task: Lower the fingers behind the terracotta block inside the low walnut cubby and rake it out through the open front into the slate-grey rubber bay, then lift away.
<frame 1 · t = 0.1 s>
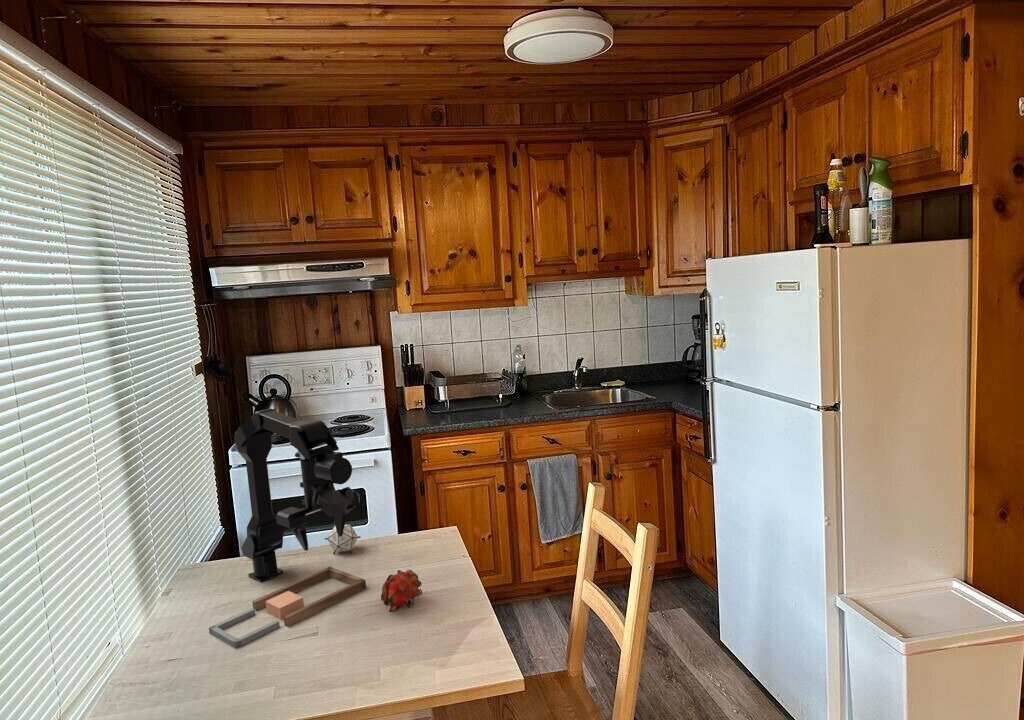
hand: (323, 543, 163), 14 cm above the table, fingers open, 9 cm apart
walnut cubby: (308, 599, 167), on the table
grey bay: (247, 628, 156), on the table
game die: (344, 552, 194), on the table
terracotta block: (285, 611, 163), on the table
dragon fruit: (402, 607, 160), on the table
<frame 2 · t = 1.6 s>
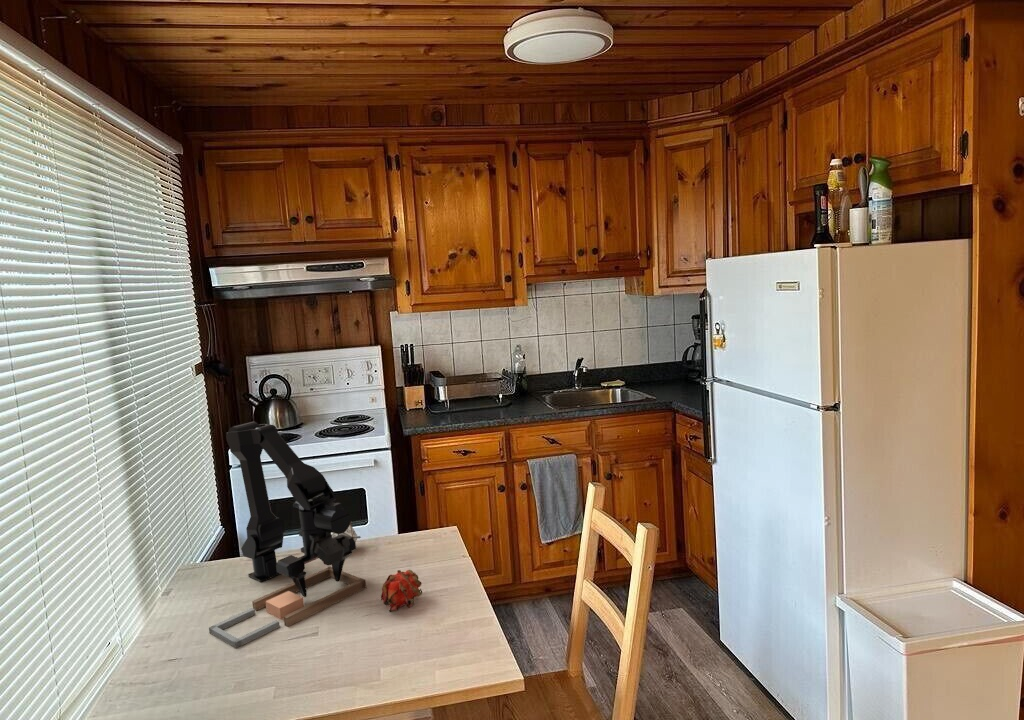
hand: (321, 588, 170), 1 cm above the table, fingers open, 9 cm apart
nothing on the table moved.
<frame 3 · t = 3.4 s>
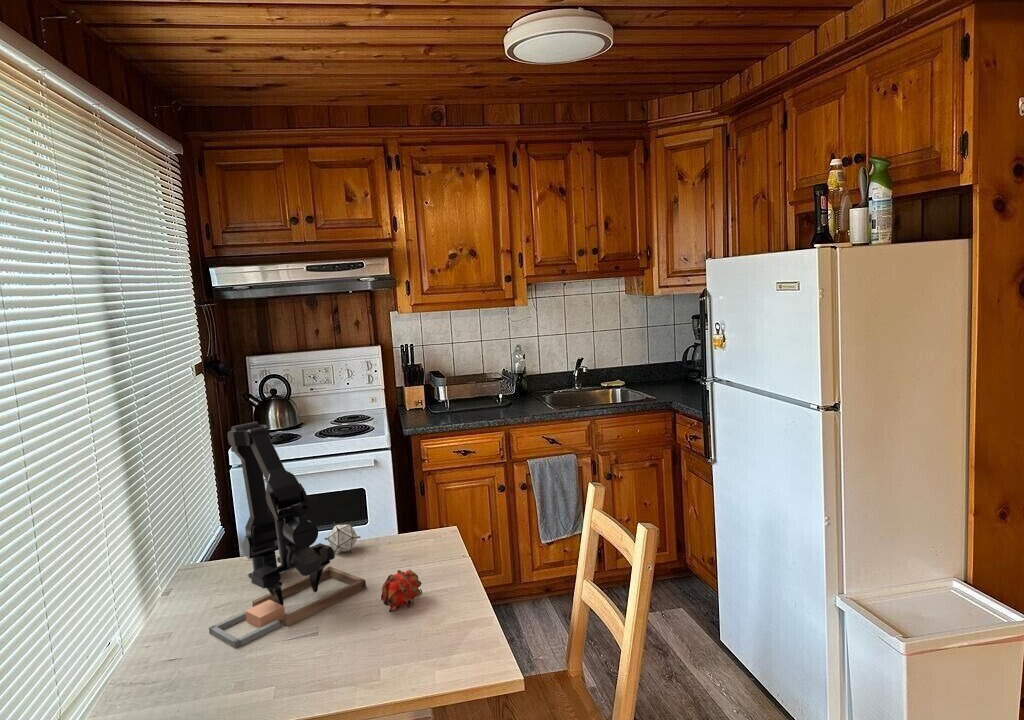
hand: (298, 599, 165), 1 cm above the table, fingers open, 9 cm apart
terracotta block: (266, 621, 159), on the table
everything else where it was.
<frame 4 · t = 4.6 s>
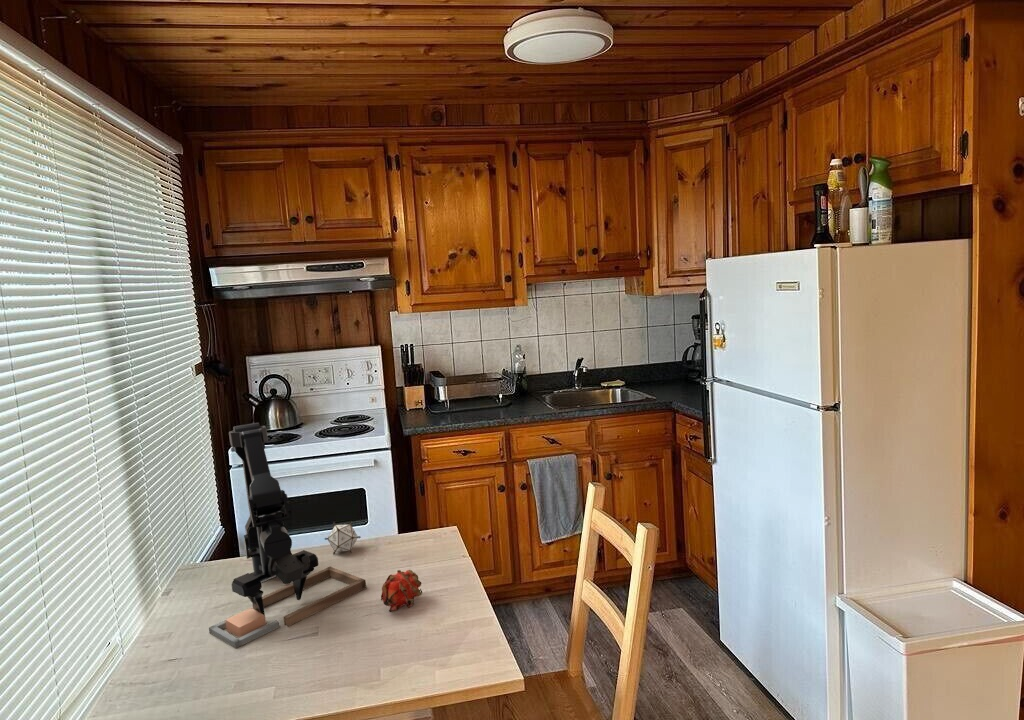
hand: (281, 607, 162), 1 cm above the table, fingers open, 9 cm apart
terracotta block: (246, 630, 156), on the table
everything else where it was.
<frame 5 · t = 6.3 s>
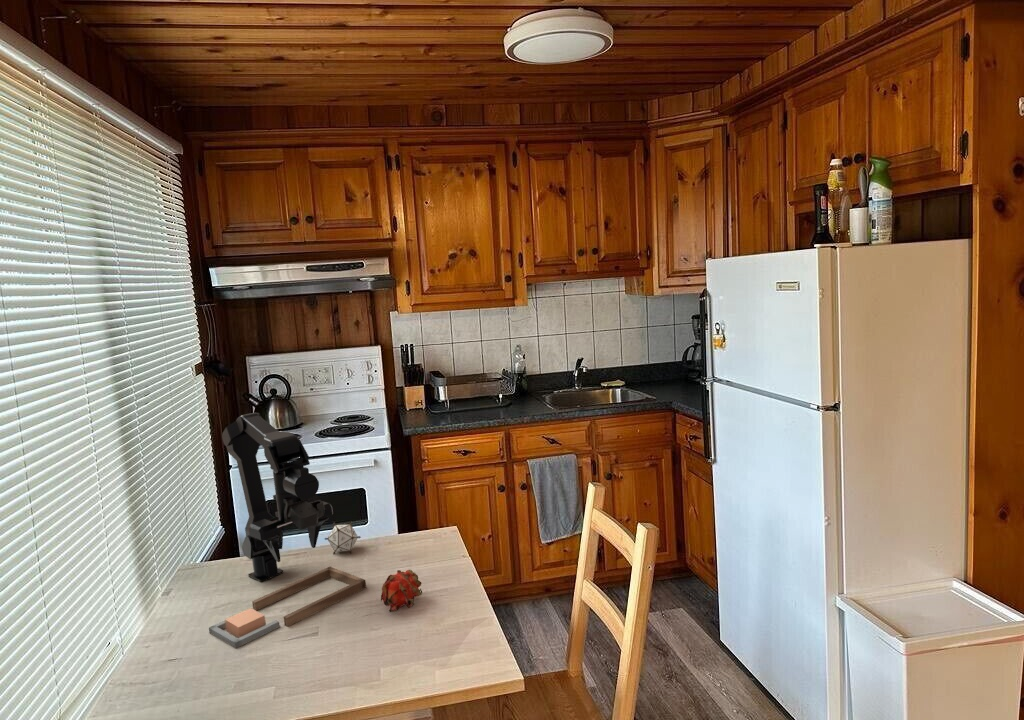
hand: (296, 554, 166), 11 cm above the table, fingers open, 9 cm apart
nothing on the table moved.
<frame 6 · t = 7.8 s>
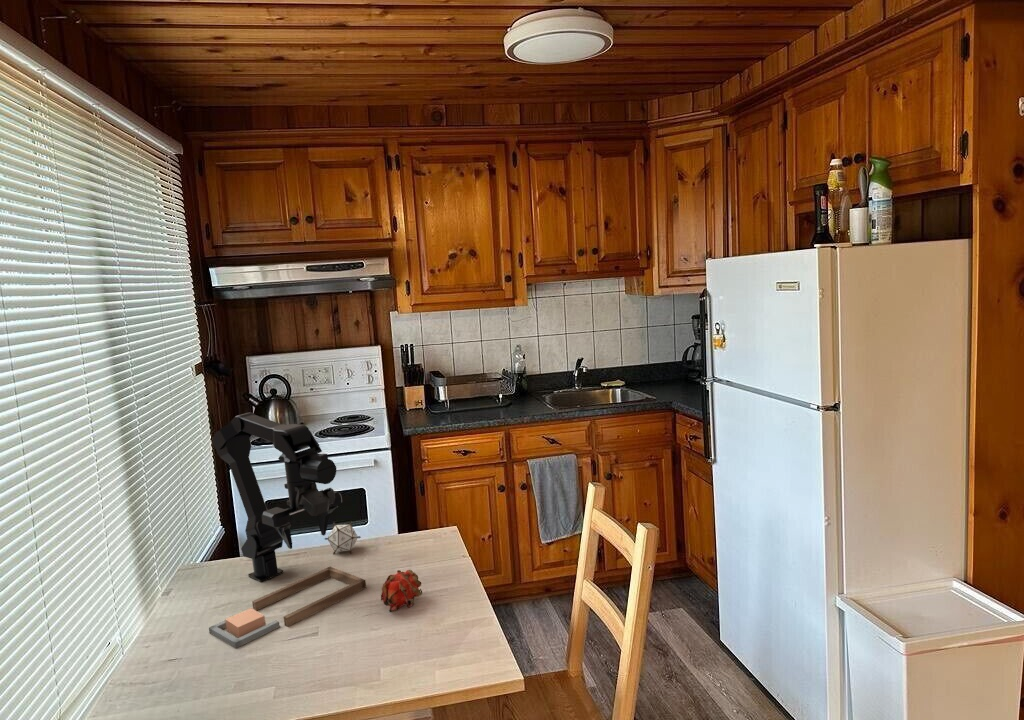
hand: (307, 541, 171), 12 cm above the table, fingers open, 9 cm apart
nothing on the table moved.
at the end: terracotta block 0.0 cm off-centre on the grey bay, point 0.0 cm above the grey bay's base; terracotta block tilted 0°; terracotta block moved 9.7 cm from its start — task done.
